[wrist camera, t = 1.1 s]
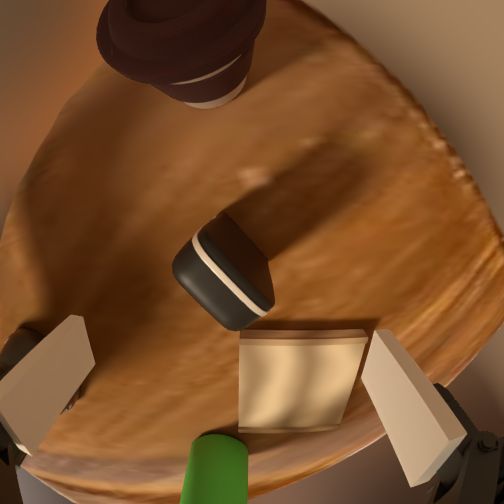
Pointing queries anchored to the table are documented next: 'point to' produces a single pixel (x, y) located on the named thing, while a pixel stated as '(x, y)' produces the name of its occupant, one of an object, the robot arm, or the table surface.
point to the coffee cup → (183, 45)
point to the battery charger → (225, 273)
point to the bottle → (216, 471)
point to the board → (296, 378)
